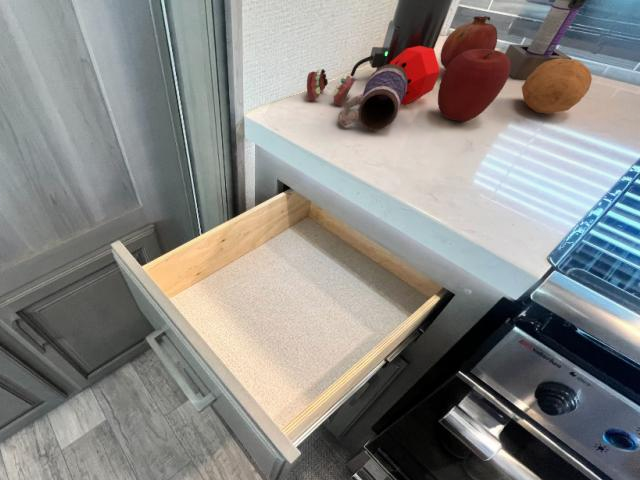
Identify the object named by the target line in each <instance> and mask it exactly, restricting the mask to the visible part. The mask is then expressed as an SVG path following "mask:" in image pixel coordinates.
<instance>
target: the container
mask: <svg viewBox="0 0 640 480" xmlns="http://www.w3.org/2000/svg"><path fill="white" fill-rule="evenodd" d="M570 1H571V0H556V1H555V0H554V2H553V4H552V6H551V7H550V9H549V11H548V13H547V14H546V16H545V18H544V19H543V22H542V23H541V25H540V27H539V28H538V30H537V31H536V34H535V35H534V37H533V39H532V40H531V42H530V44H529V45H530V46H529V48H528V49H527V51H526V52H527V53H529V54H530V55H550V56H551V54H552V53H553V51H554V49H555V48H556V49H557V47H558V45H559V43H560V42H561V40H562V38H563V37H564V35H565V34H566V32H567V30H568V29H569V27H570V26H571V24H572V22H573V20H574V19H575V18H576V16H577V15H578V13H579V11H581V8H579V9H570V8H568V4H569V3H570Z"/></svg>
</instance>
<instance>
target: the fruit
mask: <svg viewBox="0 0 640 480" xmlns="http://www.w3.org/2000/svg"><path fill="white" fill-rule="evenodd" d="M472 19H473V21H472V22H469V23H468V22H467V23H464V24H461V25H459V26H458V27H457V28H456V29H454V30H453V31H452V32H451V33H450V34H449V35H448V36H447V37H446V39H445V41H444V42H443V45H442V48H441V51H440V63H441V65H442V67H443V68H444V69H446V68H447V66H448V65H449V64H450V62H451V61H452V60H453V59H454V58H455V57H456V56H458V55H460V54H462V53H463V52H465V51H468V50H473V49H491V50H496V47H497V44H498V30H497V28H496V26H495V25H494V24H492V23H486V21H491V17H490V16H487V15H485V16H479V15H478V16H476V15H475V16H474V17H473V18H472Z"/></svg>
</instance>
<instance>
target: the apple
mask: <svg viewBox="0 0 640 480" xmlns="http://www.w3.org/2000/svg"><path fill="white" fill-rule="evenodd" d="M505 53H506V52H503V51H500V50H496V49H495V50H491V49H473V50H468V51H465V52H463V53H462V54H460V55H458V56H456V57H455V58H454V59H453V60H452V61H451V62H450V64H449V65H448V66H447V68H444V72H443V74H442V76H441V80H440V83H439V87H438V93H437V107H438V110H439V112H440V114H441V115H442V116H443V117H445V118H447V119H450V120H453V121H458V122H469V121H471V120H473V119H475V118H477V117H478V116H479V115H481V114H482V113H483V112H484V111H485V110H487V109H488V107H489V106H490V105H491V104H492V103H493V102H494V101H495V100H496V98H497V97H498V96H499V94H500V93H501V91H502V90H503V88H504V87H505V85H506V83H507V81H508V80H509V76H510V75H509V73H510V60H509V58H508V56H507V55H506V54H505Z"/></svg>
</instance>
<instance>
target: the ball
mask: <svg viewBox="0 0 640 480" xmlns="http://www.w3.org/2000/svg"><path fill="white" fill-rule="evenodd" d="M390 64H394V65H398V66H400V67H401V68H403V69H404V71H405V72H406V74H407V79H408V82H407V89H406V94H405V96H404V99H403V101H402V103H401V104H400V105H406V104H409V103H412V102H415V101H418V100H419V99H420V98H422V97H424V96H425V95H427V94H429V93H430V92H432V91H433V90H434V88H435V86H436V82H437V80H438V79H439V78H438V77H439V76H440V73H441V70H440V65H439V62H438V59H437V55H436V52H435V48H434V49H431V48H427V47H423V46H416V47H412V48H407V49H406V50H404V51H403V52H402V53H401V54H399V55H398V56H397V57H396V58H395V59H393V60H392V61H391V62H390Z"/></svg>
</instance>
